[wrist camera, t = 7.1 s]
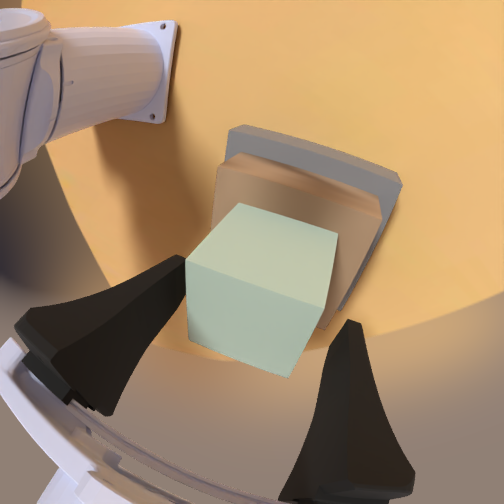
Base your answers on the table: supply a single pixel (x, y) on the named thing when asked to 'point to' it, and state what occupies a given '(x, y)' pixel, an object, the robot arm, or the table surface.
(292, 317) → the green cube
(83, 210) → the table surface
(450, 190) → the table surface
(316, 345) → the table surface
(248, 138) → the tower base
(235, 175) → the tower top
